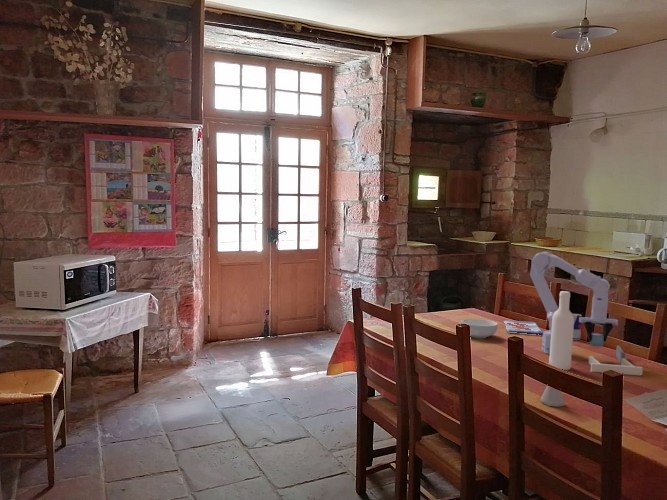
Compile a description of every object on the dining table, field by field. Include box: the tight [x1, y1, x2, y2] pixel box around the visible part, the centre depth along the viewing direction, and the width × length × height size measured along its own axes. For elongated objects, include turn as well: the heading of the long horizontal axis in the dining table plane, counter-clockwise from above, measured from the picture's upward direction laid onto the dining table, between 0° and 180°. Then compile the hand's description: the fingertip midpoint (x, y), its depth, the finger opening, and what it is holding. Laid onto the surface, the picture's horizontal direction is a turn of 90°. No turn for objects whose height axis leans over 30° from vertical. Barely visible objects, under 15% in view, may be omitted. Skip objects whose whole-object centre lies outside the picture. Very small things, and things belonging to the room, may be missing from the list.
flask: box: [540, 385, 566, 408], centre depth 170 cm, size 7×7×10 cm
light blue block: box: [589, 333, 604, 347], centre depth 220 cm, size 5×5×4 cm
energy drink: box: [572, 313, 583, 341], centre depth 252 cm, size 5×5×12 cm
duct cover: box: [615, 344, 626, 364], centre depth 219 cm, size 14×1×4 cm, turn 160°
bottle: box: [548, 290, 574, 371], centre depth 207 cm, size 8×8×30 cm
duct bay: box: [588, 355, 644, 376], centre depth 208 cm, size 18×12×3 cm, turn 80°
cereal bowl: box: [460, 318, 499, 339], centre depth 253 cm, size 17×17×7 cm
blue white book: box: [502, 319, 544, 336], centre depth 270 cm, size 17×24×3 cm
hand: (596, 340), depth 220 cm, fingers closed on light blue block, 5 cm apart
